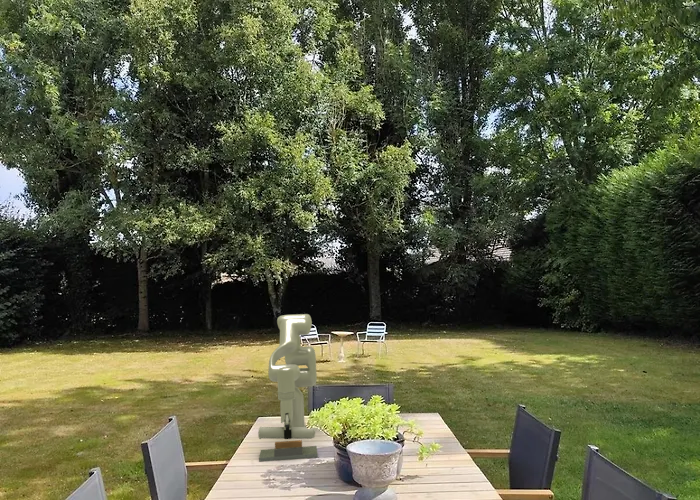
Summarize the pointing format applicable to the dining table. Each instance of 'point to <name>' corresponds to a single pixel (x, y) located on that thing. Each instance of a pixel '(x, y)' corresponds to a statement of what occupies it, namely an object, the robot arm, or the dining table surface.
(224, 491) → the dining table surface
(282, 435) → the tube
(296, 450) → the galvanized metal plate
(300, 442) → the bar
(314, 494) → the dining table surface
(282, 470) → the dining table surface
